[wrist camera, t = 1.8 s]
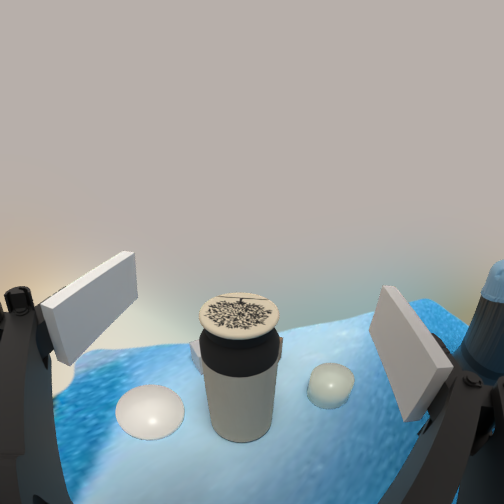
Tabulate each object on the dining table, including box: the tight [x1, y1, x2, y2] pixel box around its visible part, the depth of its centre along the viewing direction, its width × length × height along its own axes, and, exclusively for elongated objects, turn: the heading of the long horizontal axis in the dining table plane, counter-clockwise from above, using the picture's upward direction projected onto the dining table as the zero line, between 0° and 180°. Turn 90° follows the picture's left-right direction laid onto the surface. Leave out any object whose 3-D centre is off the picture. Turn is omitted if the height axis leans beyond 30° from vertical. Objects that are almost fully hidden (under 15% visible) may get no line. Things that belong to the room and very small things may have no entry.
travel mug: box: [199, 293, 280, 442], centre depth 28 cm, size 8×8×18 cm
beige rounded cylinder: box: [307, 363, 354, 409], centre depth 35 cm, size 6×6×4 cm
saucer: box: [116, 385, 185, 440], centre depth 31 cm, size 10×10×1 cm
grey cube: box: [189, 340, 203, 375], centre depth 41 cm, size 4×4×4 cm
